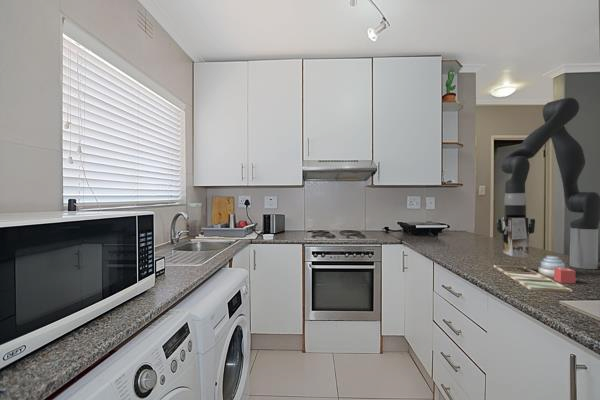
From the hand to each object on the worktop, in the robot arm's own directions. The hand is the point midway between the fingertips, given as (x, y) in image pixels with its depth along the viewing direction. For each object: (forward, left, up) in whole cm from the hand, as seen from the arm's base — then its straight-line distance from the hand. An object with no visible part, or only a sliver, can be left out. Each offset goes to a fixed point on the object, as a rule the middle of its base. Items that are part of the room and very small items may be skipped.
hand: (515, 243), depth 135 cm
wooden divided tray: (+12, 0, -12) cm, 17 cm away
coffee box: (0, 0, -5) cm, 5 cm away
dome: (+4, +12, -9) cm, 15 cm away
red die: (+15, +11, -12) cm, 22 cm away
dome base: (+4, +12, -12) cm, 17 cm away
